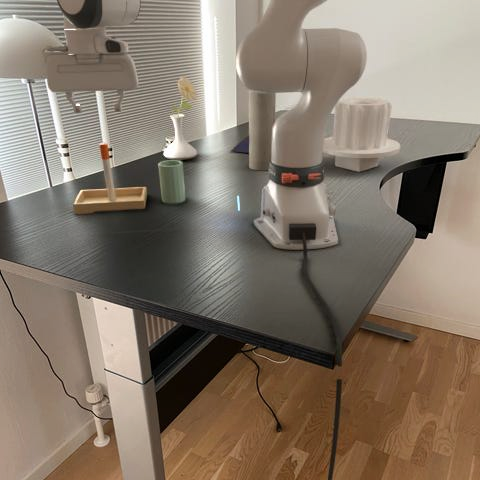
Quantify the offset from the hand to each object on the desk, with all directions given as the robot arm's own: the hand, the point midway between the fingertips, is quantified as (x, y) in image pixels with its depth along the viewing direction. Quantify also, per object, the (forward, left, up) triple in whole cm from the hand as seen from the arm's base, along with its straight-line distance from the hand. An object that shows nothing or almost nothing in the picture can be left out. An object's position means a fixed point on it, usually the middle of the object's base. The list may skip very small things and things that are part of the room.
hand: (98, 112), depth 113 cm
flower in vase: (+45, -19, -23) cm, 54 cm away
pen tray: (0, 0, -23) cm, 23 cm away
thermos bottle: (+29, -44, -23) cm, 57 cm away
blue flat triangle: (+56, -54, -23) cm, 81 cm away
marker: (0, 0, -22) cm, 22 cm away
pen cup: (0, -16, -23) cm, 28 cm away
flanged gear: (+25, -74, -23) cm, 81 cm away
